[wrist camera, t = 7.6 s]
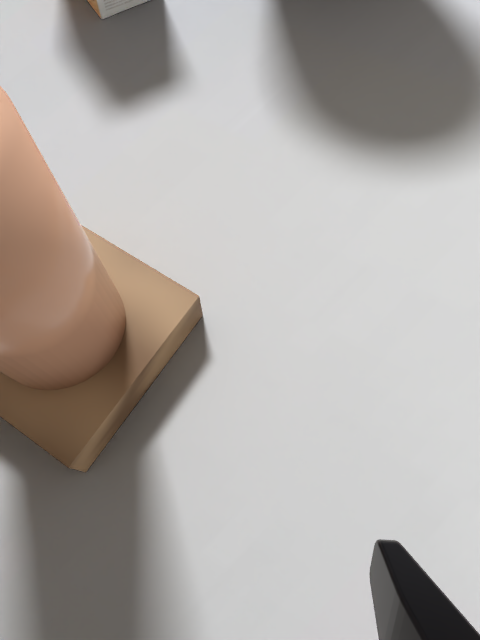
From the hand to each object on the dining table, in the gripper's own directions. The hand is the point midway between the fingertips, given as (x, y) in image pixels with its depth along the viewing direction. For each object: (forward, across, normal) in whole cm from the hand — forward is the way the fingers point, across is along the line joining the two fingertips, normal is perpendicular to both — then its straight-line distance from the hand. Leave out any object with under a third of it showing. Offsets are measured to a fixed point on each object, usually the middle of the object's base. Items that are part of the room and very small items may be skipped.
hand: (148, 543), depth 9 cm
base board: (+16, +8, +3) cm, 18 cm away
